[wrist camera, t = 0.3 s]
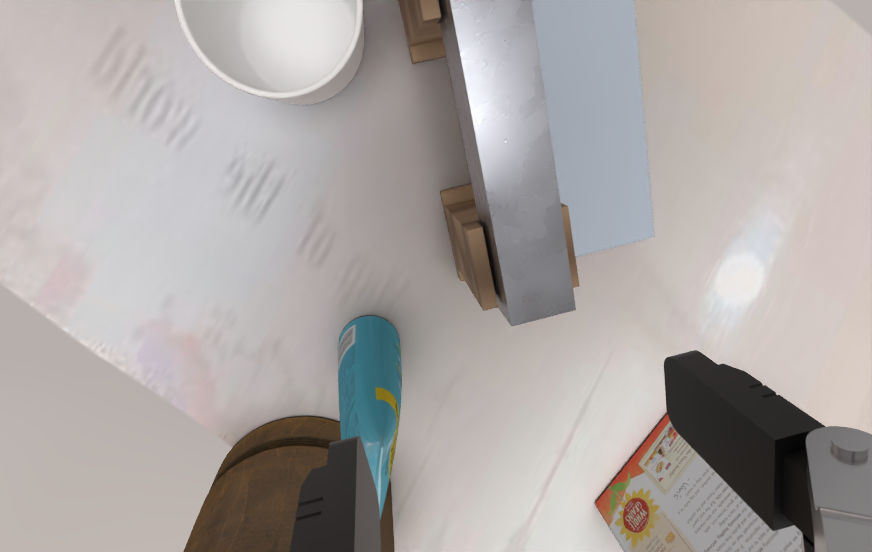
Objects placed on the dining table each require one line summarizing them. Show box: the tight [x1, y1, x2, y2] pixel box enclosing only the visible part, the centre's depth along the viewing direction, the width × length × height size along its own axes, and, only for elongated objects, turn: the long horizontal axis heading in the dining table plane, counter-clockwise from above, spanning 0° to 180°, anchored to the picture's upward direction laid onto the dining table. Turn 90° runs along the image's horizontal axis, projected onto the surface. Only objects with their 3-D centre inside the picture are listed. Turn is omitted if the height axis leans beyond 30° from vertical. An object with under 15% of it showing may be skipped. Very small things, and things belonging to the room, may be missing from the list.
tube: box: [338, 316, 402, 519], centre depth 32 cm, size 7×5×19 cm, turn 178°
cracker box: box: [595, 413, 802, 552], centre depth 38 cm, size 14×6×21 cm, turn 146°
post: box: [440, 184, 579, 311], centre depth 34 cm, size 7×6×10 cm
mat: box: [532, 0, 654, 257], centre depth 37 cm, size 22×8×1 cm, turn 12°
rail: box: [438, 0, 576, 326], centre depth 27 cm, size 22×4×4 cm, turn 12°
